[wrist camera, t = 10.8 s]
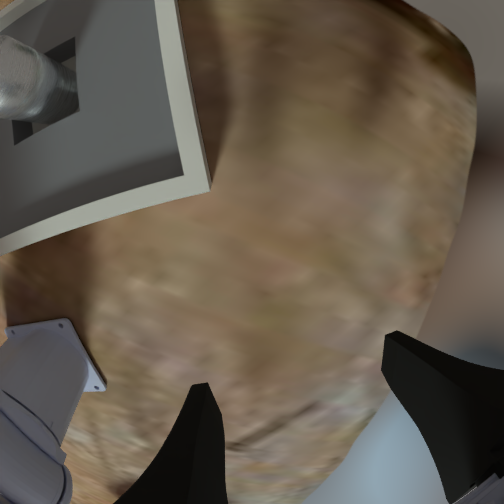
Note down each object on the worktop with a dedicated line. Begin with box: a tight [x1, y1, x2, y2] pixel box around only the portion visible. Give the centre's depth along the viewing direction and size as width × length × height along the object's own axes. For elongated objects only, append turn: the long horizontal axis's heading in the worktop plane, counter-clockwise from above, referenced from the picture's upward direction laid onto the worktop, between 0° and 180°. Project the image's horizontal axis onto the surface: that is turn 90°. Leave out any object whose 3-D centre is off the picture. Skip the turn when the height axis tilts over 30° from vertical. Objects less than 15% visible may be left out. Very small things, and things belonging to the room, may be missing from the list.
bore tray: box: [0, 0, 212, 256], centre depth 12 cm, size 18×18×5 cm
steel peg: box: [0, 35, 79, 125], centre depth 9 cm, size 4×4×8 cm
